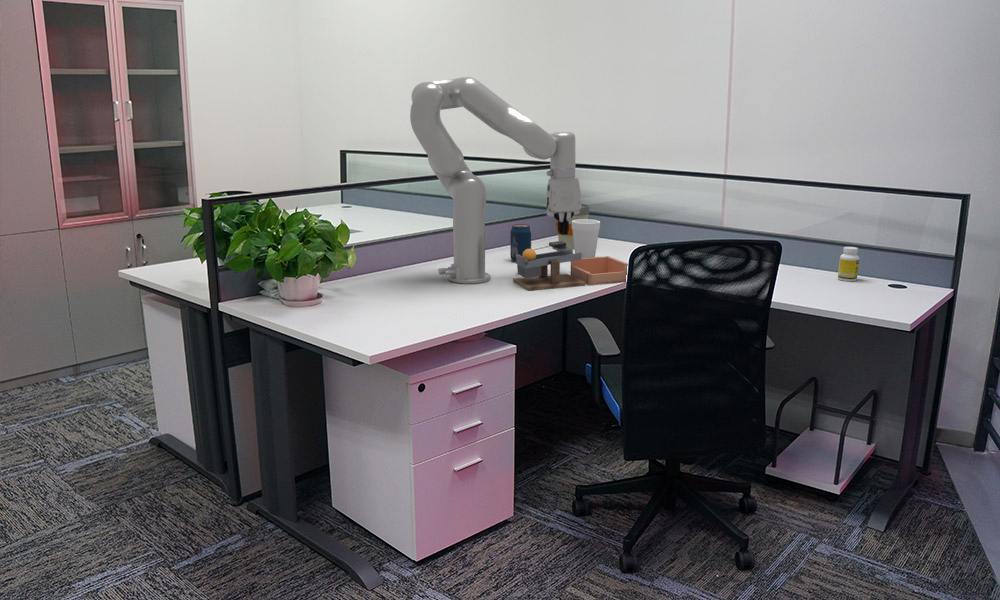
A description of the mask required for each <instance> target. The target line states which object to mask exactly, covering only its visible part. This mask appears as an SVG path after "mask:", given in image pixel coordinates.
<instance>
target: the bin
mask: <svg viewBox="0 0 1000 600" xmlns="http://www.w3.org/2000/svg"><path fill="white" fill-rule="evenodd" d="M581 259H582V260H576V261H570V275H571V276H573V277H575V278H577V279H580V280H582V281H584V282H585V285H587V286H594V285H596V286H597V285H605V284H615V283H626V282H625V281H626V275H627V276H628V274H627V266H628V267H629V263H628V262H624V261H622V260H619V259H618V258H615V257H613V256H610V255H607V256H595V257H592V258H581Z"/></svg>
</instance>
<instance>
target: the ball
mask: <svg viewBox="0 0 1000 600" xmlns="http://www.w3.org/2000/svg"><path fill="white" fill-rule="evenodd" d="M536 254H537V253H536V251H535V249H532V248H531V249H526V250H525V251H524V252H523V255H522V256H523V257H525V258H527V259H528V261H529V260H535V258H536Z"/></svg>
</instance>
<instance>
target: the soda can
mask: <svg viewBox="0 0 1000 600" xmlns="http://www.w3.org/2000/svg"><path fill="white" fill-rule="evenodd" d="M509 247H510V254H509V255H510V258H511V261H512V262H513V263H517V261H516V255H518V254H519V255H521V256H522V255H523V252H524V251H525V250H526V249H532V229H531V228H530V225H529V224H526V223H525V224H524V223H521V224H519V223H517V224H512V226H511V228H510V246H509Z"/></svg>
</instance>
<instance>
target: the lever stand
mask: <svg viewBox="0 0 1000 600" xmlns="http://www.w3.org/2000/svg"><path fill="white" fill-rule="evenodd" d="M548 266H549V265H544V266H541V276H538V277H531V278H524V277H518V278H517V277H516V278H512V283H514V284H516V285H518V286H520V287H521V288H523V289H525V290H527V291H528V292H530V291H539V290H541V291H542V290H551V289H563V288H573V287H574V288H575V287H584V286H586V284H585V282H584V281H582V280H580V279H577V278H575V277H573V276H571V274H569V273H560V272H561V263H560V262H559V261H552V262H551V265H550V274H549V275H548V273H549V271H548V268H549V267H548Z"/></svg>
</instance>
